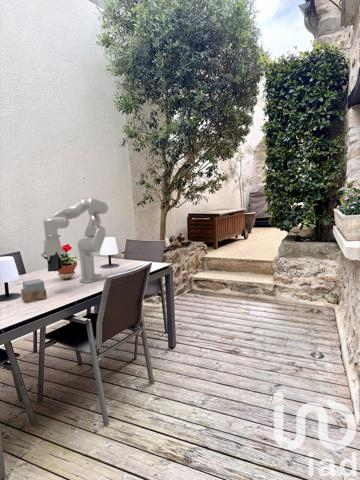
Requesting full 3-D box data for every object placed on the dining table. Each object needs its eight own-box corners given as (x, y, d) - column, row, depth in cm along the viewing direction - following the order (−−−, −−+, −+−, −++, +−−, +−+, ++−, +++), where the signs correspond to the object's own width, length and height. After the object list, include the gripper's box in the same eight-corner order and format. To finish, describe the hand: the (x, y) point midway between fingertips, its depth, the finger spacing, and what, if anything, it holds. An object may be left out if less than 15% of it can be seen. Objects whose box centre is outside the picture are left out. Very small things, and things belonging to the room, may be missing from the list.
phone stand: (54, 267, 200) (52, 250, 198) (62, 267, 199) (61, 250, 197) (47, 271, 191) (45, 253, 189) (56, 271, 191) (54, 252, 189)
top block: (40, 286, 192) (39, 278, 191) (44, 289, 184) (44, 281, 183) (23, 289, 185) (22, 281, 185) (26, 293, 178) (26, 284, 177)
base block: (42, 294, 193) (41, 285, 193) (46, 299, 184) (45, 289, 183) (21, 298, 187) (20, 289, 186) (25, 303, 177) (24, 294, 176)
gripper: (64, 235, 200) (66, 262, 203) (36, 238, 190) (39, 266, 193) (67, 236, 193) (70, 263, 196) (38, 240, 184) (42, 268, 187)
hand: (55, 264), depth 195 cm, fingers closed on phone stand, 5 cm apart
